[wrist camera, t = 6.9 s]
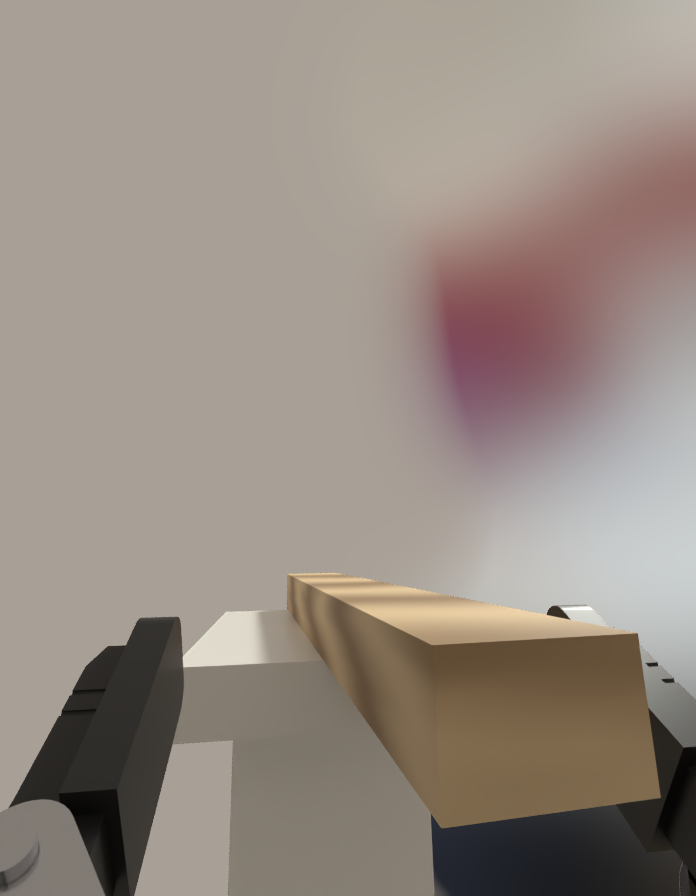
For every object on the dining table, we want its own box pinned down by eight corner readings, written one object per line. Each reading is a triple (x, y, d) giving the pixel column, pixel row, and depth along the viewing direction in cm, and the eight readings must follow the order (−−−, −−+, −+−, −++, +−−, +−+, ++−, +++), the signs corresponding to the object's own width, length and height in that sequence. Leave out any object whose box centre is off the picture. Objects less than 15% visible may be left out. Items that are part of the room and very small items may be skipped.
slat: (660, 797, 6) (638, 633, 7) (441, 828, 6) (432, 645, 6) (336, 606, 29) (336, 572, 30) (287, 608, 28) (287, 574, 29)
